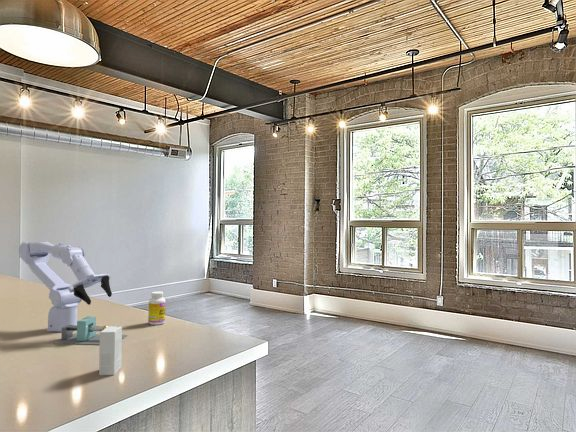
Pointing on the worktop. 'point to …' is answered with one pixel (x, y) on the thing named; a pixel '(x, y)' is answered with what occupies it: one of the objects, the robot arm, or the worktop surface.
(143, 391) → the worktop surface
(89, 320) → the teal slotted block
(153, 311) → the supplement bottle
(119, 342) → the skincare box
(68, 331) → the pipe
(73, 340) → the grey rectangular plate
